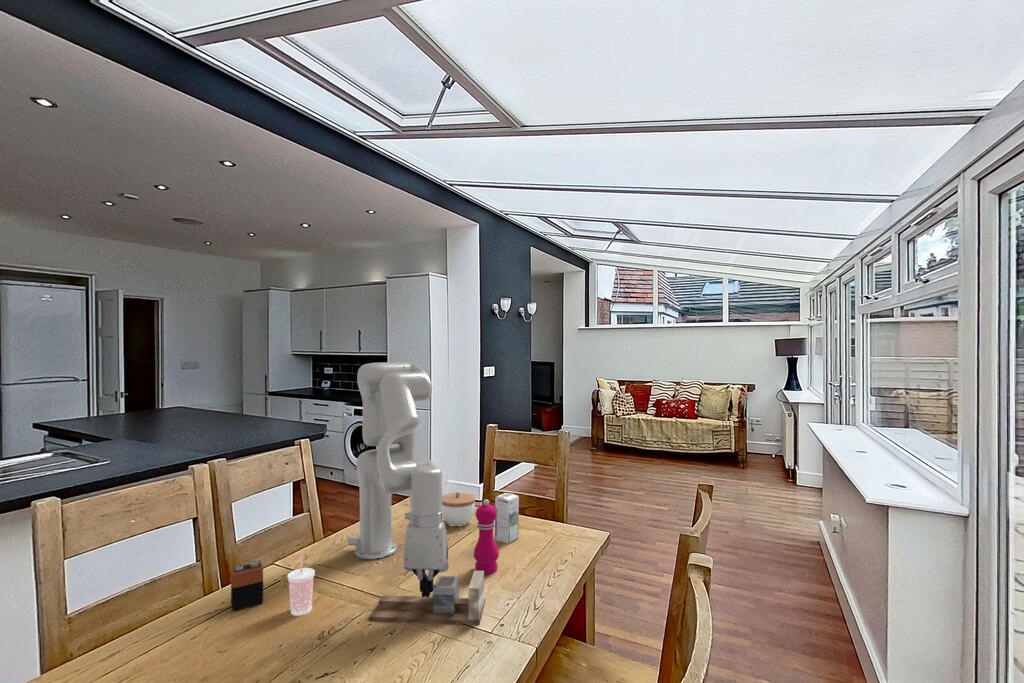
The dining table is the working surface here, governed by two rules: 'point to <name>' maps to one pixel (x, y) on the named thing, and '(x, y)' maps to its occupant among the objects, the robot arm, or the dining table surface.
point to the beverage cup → (301, 589)
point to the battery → (246, 585)
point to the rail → (423, 607)
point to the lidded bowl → (458, 508)
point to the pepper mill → (486, 539)
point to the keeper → (445, 594)
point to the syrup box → (506, 517)
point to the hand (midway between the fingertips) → (426, 594)
